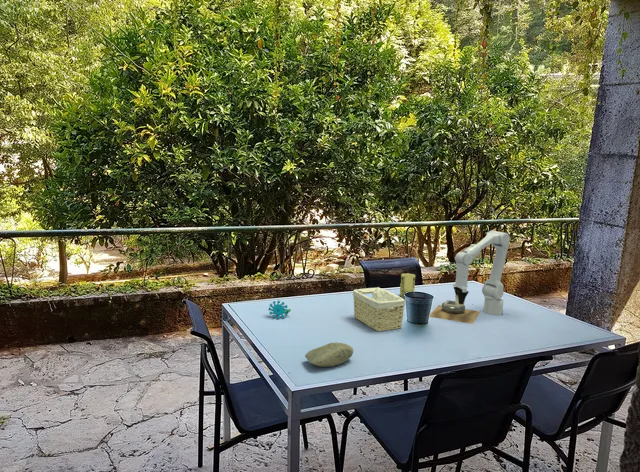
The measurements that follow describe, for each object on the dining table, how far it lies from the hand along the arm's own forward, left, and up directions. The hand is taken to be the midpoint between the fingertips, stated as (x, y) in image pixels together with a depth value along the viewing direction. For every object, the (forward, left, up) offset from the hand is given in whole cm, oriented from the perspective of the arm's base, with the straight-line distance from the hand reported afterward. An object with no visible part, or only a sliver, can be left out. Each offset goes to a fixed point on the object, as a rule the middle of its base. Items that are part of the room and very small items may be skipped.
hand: (459, 302), depth 262 cm
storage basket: (+34, +28, -9) cm, 44 cm away
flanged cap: (0, 0, -1) cm, 1 cm away
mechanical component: (+35, -25, -9) cm, 44 cm away
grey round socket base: (+5, -11, -8) cm, 15 cm away
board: (+3, -6, -9) cm, 11 cm away
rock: (+33, +84, -9) cm, 91 cm away
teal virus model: (+78, +45, -9) cm, 91 cm away
